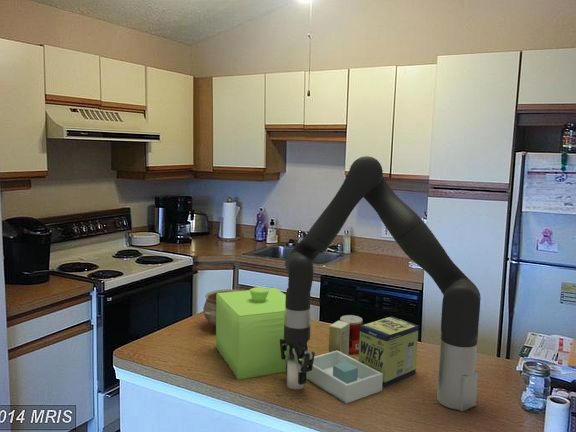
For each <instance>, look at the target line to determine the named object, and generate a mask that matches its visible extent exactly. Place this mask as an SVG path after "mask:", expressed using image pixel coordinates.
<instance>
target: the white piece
mask: <svg viewBox="0 0 576 432" xmlns="http://www.w3.org/2000/svg"><path fill="white" fill-rule="evenodd" d="M300 360H302V359H299V361H300ZM301 366H302V367H303V363H302V364H301ZM298 372H299V370H298V365H297V364H296V362H295V358H293V359H289V360H288V361H287V376H286V387H287V388H289V389H291V390H301V389H303V388H304V387H305V384H302V385H300V384H298Z"/></svg>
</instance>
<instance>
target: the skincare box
mask: <svg viewBox="0 0 576 432" xmlns="http://www.w3.org/2000/svg"><path fill="white" fill-rule="evenodd" d="M349 327H350V323H347V322H343V321H340V320H337V321H335V322H333V323H331V324H329V331H328V333H329V334H328V336H329V337H328V353H329V352H333V351H337V350H338V351H340V352H341V353H343V354H345V355H347V356H349V355H350V354H349ZM349 357H350V356H349Z"/></svg>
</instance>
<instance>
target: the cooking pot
mask: <svg viewBox="0 0 576 432" xmlns="http://www.w3.org/2000/svg"><path fill="white" fill-rule="evenodd" d="M235 291H243V290H241V289H233V288H232V289H231V288H230V289H229V288H228V289H217V290H213V291H209V292H208V293H206V294H205V302H204V305H203V307H202V308H203V311H202V312H203V314H204V317H205V319H206V320H207V322H208V323H210V324H211V325H213V326H215V327H216V294H217V293H224V292H235Z"/></svg>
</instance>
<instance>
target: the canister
mask: <svg viewBox="0 0 576 432" xmlns="http://www.w3.org/2000/svg"><path fill="white" fill-rule="evenodd" d="M285 301H286V293H284V292H282V291H280V289H278V288H276V287H271V288H269V287H268V288H266V287H264V286H263V287H262V286H261V287H260V286H256V287H252V288H250V289H248V290H242V291H235V292H224V293H217V294H216V326H215V349H216V348H217V349H218V350H217V349H216V350H217V352H218V351H219V352H220V353H219V352H218V353H219V354H221V355H222V356H223V357H222V356H221V355H220V356H221V357H222V359H223V358H224V359H223V360H224V362H225V361H226V362H227V363H226V362H225V363H226V365H227V364H228V365H229V366H228V365H227V366H228V367H229V369H230V368H231V369H230V370H231V372H232V371H233V372H232V373H233V374H234V376H235V377H236V379H237V380H238V381H239V380H245V379H250V378H251V379H252V378H256V377H262V376H264V377H265V376H269V375H274V374H281V373H282V374H283V373H286V364H285V360H284V359H283V360H282V358H281V349H280V339H283V338H284V313H285ZM284 354H286V351H284ZM301 359H302V360H303V358H301Z"/></svg>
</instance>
